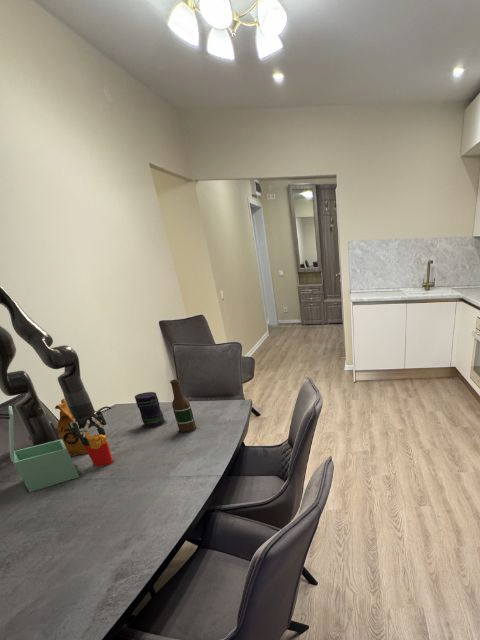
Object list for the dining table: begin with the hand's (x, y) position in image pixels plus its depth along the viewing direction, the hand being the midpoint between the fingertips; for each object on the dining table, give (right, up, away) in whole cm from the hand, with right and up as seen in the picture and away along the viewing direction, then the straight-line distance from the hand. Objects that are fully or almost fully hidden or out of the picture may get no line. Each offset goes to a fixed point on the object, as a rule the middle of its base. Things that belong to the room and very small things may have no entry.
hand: (95, 441), depth 154 cm
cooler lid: (-17, +1, -17) cm, 24 cm away
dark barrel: (+1, +13, +43) cm, 45 cm away
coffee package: (-18, -2, +18) cm, 25 cm away
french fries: (0, -9, +5) cm, 10 cm away
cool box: (-13, -15, -5) cm, 20 cm away
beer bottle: (+22, +9, +34) cm, 42 cm away
